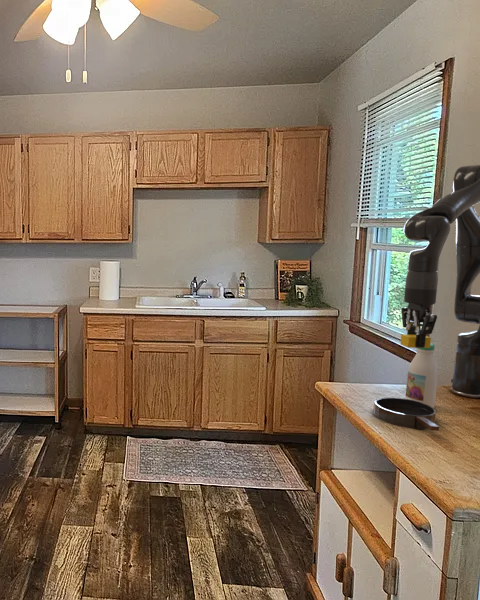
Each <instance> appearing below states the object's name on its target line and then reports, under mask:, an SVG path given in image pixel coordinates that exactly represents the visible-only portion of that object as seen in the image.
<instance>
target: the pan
mask: <svg viewBox="0 0 480 600" xmlns="http://www.w3.org/2000/svg"><path fill="white" fill-rule="evenodd" d="M372 412H373V415H374V416H375V417H376V418H378V419H379V420H381V421H383V422H386V423H389V424H392V425H396V426H400V427H405V428H413V429H416V428H415V423H416V416H420V417H425V418H426V419H428V420H430V421H431V422H433V423H434V424H436V420H437V410H436V409H435V407H434V408H433V407H431V406H429V405H427V404H424V403H421V402H417V401H414V400H409V399H405V398H403V397H389V396H388V397H387V396H386V397H380V398H377V399H375V400H374V401H373V411H372ZM426 428H427V427H425V429H426ZM427 429H428V428H427Z"/></svg>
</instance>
